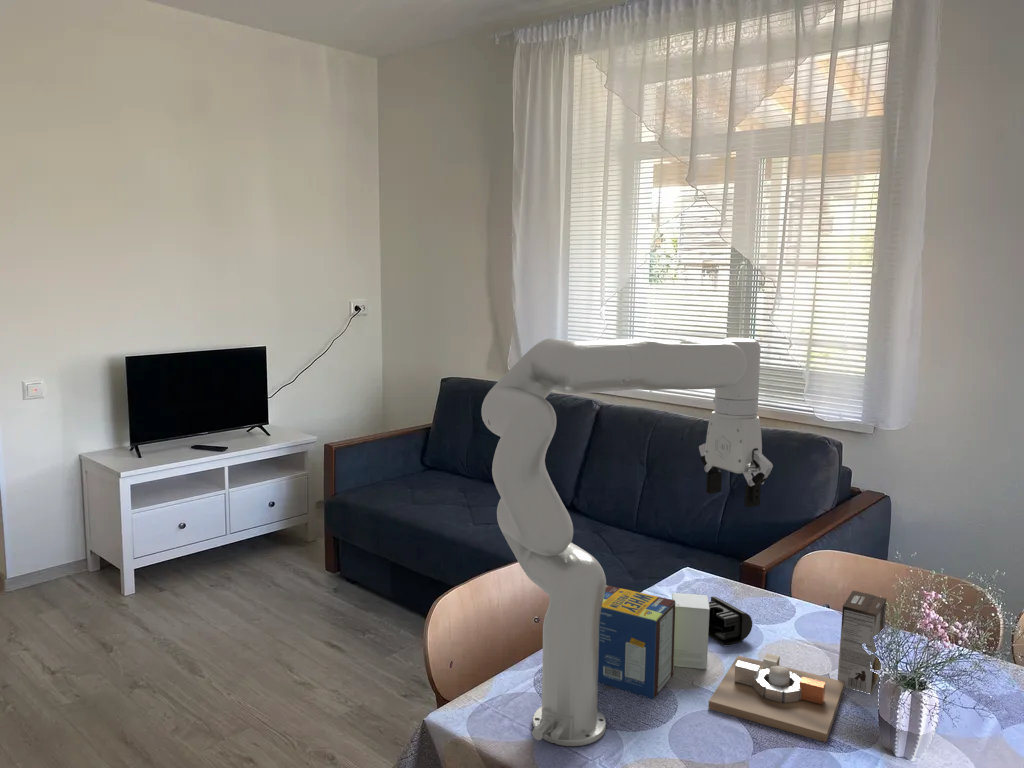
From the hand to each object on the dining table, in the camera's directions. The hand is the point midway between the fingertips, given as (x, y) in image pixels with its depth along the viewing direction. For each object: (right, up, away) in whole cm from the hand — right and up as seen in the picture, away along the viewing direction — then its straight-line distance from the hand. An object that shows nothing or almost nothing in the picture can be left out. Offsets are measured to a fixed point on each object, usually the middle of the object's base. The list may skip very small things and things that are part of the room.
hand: (732, 499), depth 146 cm
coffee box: (+27, -36, +8) cm, 46 cm away
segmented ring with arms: (+9, -35, +1) cm, 36 cm away
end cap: (+6, -34, +27) cm, 43 cm away
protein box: (-18, -36, +9) cm, 41 cm away
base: (+9, -37, +1) cm, 38 cm away
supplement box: (-5, -35, +16) cm, 39 cm away
